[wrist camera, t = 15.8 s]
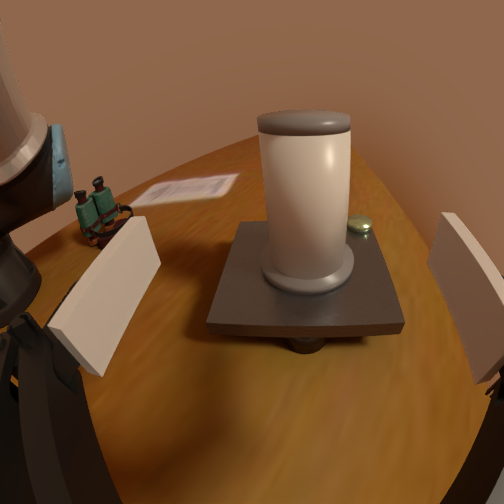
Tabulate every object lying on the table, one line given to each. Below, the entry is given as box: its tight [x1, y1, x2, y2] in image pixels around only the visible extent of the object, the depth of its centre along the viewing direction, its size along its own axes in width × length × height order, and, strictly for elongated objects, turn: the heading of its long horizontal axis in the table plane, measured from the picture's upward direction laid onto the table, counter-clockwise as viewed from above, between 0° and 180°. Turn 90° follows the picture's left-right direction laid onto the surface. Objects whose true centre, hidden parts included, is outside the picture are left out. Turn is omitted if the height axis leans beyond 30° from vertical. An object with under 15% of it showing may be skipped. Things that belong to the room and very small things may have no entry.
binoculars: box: [74, 176, 133, 249], centre depth 41 cm, size 9×11×10 cm
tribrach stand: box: [206, 215, 405, 354], centre depth 27 cm, size 16×16×5 cm
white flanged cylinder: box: [257, 110, 354, 295], centre depth 22 cm, size 9×9×14 cm
